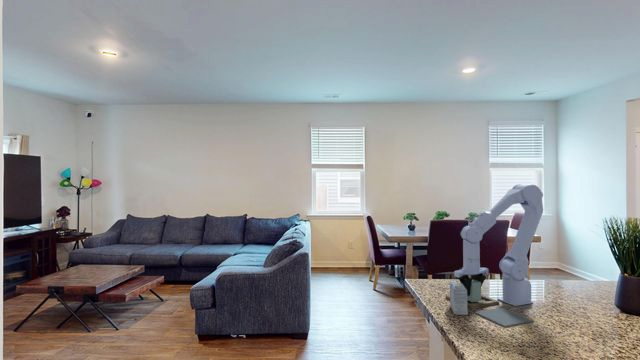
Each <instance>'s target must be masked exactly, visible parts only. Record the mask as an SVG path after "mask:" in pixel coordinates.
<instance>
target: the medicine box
mask: <svg viewBox="0 0 640 360" xmlns="http://www.w3.org/2000/svg"><path fill="white" fill-rule="evenodd" d="M449 295H450V300H449V304H450V306H449V307H450V308H451V311H452V312H453V314H454V315H457V316H458V315H460V316H468V314H469V313H468V311H469V309H468V308H467V304H468V300H467V290H466V288H465V287H464V285H463V284H462V283H461V282H450V283H449Z"/></svg>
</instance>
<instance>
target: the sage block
mask: <svg viewBox="0 0 640 360" xmlns="http://www.w3.org/2000/svg"><path fill="white" fill-rule="evenodd" d="M481 294H482V286H481V282H479V281H476V280H472V282H471V287H470V296H467V302H468V301H469V302H471V303H480V302H482V299H481Z"/></svg>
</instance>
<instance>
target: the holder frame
mask: <svg viewBox="0 0 640 360" xmlns="http://www.w3.org/2000/svg"><path fill="white" fill-rule="evenodd" d="M481 298H482V299H481V300H484V301H479V302H473V303H470V304H469V303H467V310H471V309H478V308H483V307H484V306H485V307H491V306H495V305H500V300H498V299H494V298H492V297H489V296H486V295H484V294H482V293H481ZM445 299H447V300H448V301H450V294H448V295H445Z"/></svg>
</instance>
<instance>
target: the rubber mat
mask: <svg viewBox="0 0 640 360" xmlns="http://www.w3.org/2000/svg"><path fill="white" fill-rule="evenodd" d="M474 313H475V315H477V316H479V317H482V318H483V319H487V320H488V321H491V322H492V323H494V324H497V325H498V326H500V327H503V328H510V327H515V326H520V325H524V324H530V323H534V320H533V319H532V318H528V317H526V316H524V315H521V314H520V313H517V312H514V311H511V310H509V309H507V308H504V307H497V308H491V309H486V310H480V311H475V312H474Z"/></svg>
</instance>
